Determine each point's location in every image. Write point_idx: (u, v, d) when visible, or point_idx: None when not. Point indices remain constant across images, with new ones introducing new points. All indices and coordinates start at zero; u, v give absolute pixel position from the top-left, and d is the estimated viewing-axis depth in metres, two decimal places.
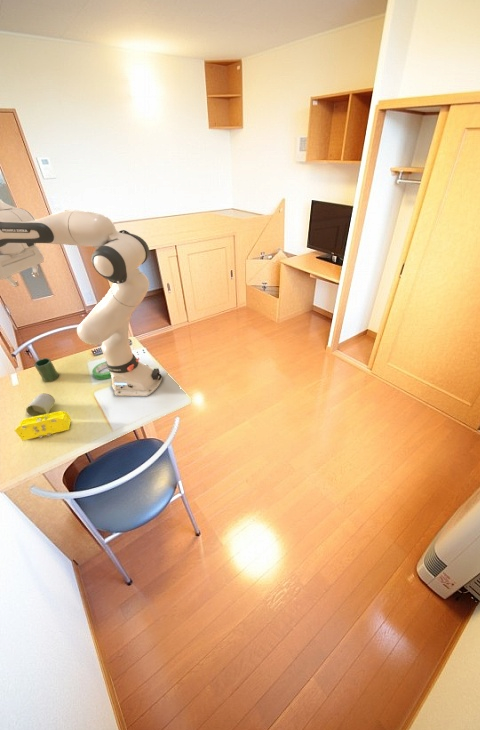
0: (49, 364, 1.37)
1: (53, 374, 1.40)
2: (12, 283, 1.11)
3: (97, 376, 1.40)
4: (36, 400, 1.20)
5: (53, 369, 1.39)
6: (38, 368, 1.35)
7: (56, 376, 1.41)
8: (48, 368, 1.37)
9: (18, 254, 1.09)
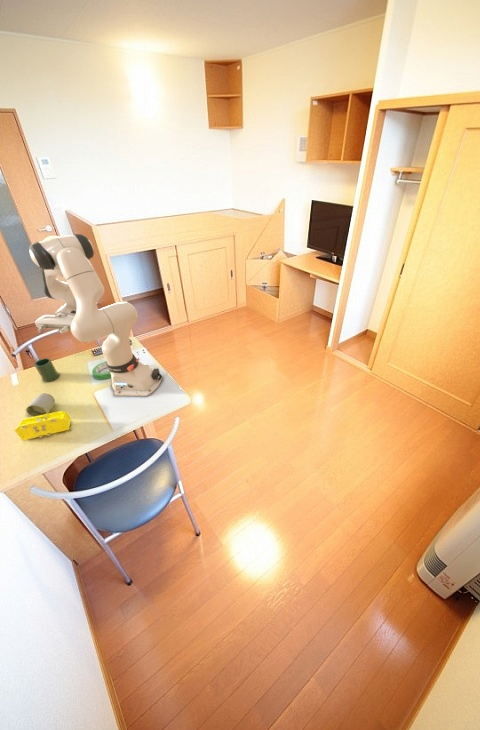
0: (49, 364, 1.37)
1: (53, 374, 1.40)
2: None
3: (97, 376, 1.40)
4: (36, 400, 1.20)
5: (53, 369, 1.39)
6: (38, 368, 1.35)
7: (56, 376, 1.41)
8: (48, 368, 1.37)
9: (59, 314, 1.47)
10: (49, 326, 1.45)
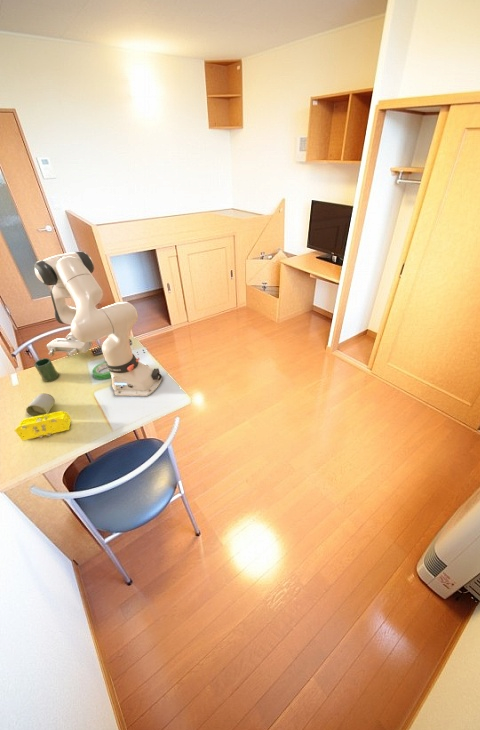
0: (49, 364, 1.37)
1: (53, 374, 1.40)
2: None
3: (97, 376, 1.40)
4: (36, 400, 1.20)
5: (53, 369, 1.39)
6: (38, 368, 1.35)
7: (56, 376, 1.41)
8: (48, 368, 1.37)
9: (69, 337, 1.54)
10: (59, 349, 1.51)
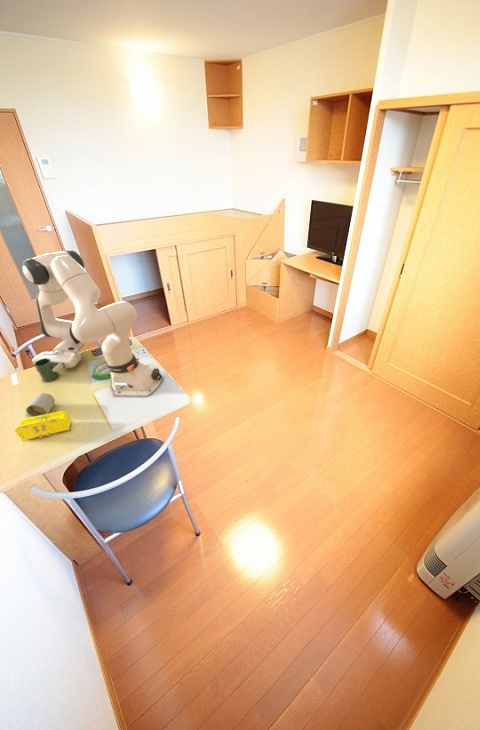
0: (49, 364, 1.37)
1: (53, 374, 1.40)
2: None
3: (97, 376, 1.40)
4: (36, 400, 1.20)
5: None
6: (38, 368, 1.35)
7: (56, 376, 1.41)
8: (48, 368, 1.37)
9: (56, 351, 1.45)
10: None
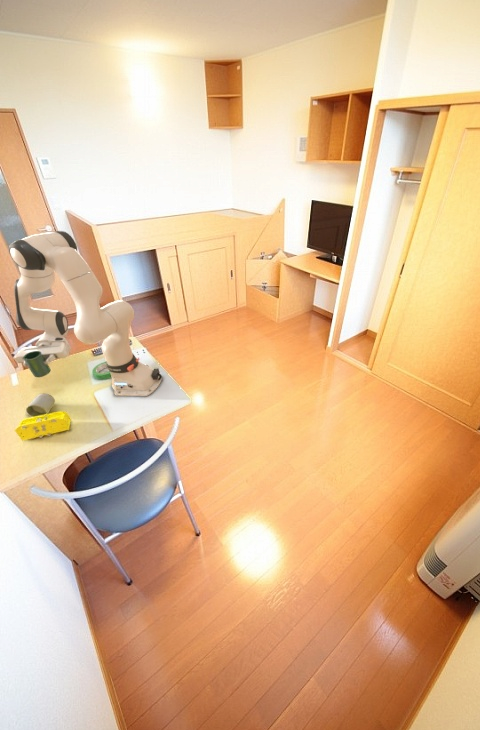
0: (41, 356, 1.23)
1: (46, 367, 1.26)
2: None
3: (97, 376, 1.40)
4: (36, 400, 1.20)
5: None
6: (29, 362, 1.20)
7: (49, 370, 1.27)
8: (41, 360, 1.23)
9: (42, 343, 1.30)
10: None
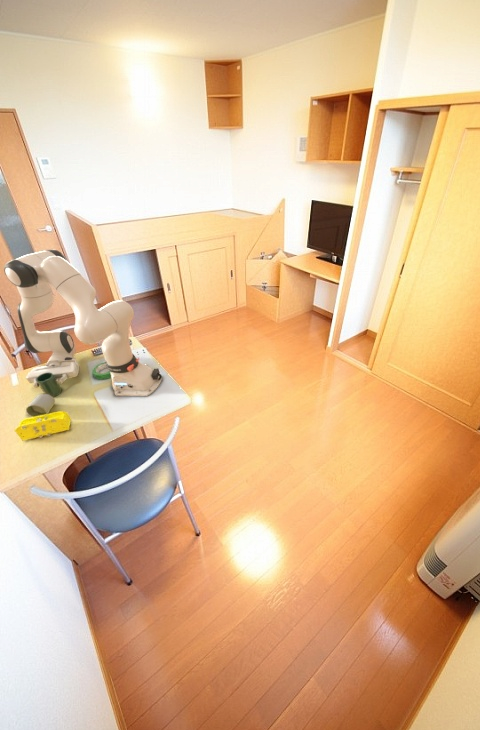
0: (53, 377, 1.29)
1: (57, 388, 1.32)
2: None
3: (97, 376, 1.40)
4: (36, 400, 1.20)
5: (56, 383, 1.32)
6: (42, 383, 1.26)
7: (60, 390, 1.34)
8: (53, 382, 1.29)
9: (52, 363, 1.36)
10: None
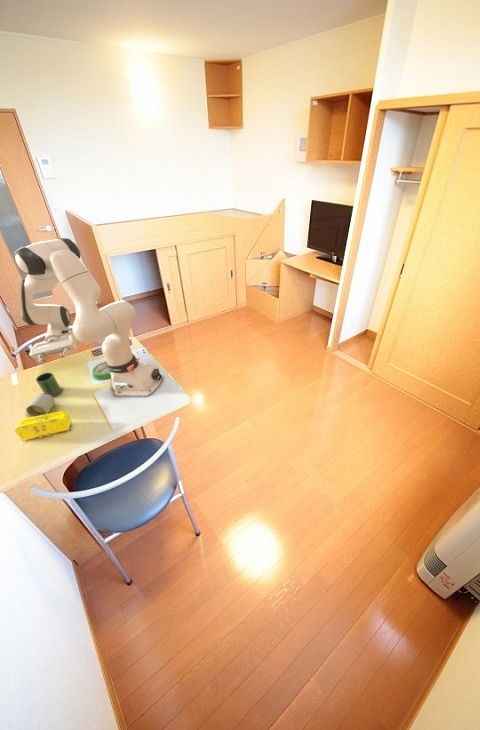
0: (53, 377, 1.29)
1: (57, 388, 1.32)
2: None
3: (97, 376, 1.40)
4: (36, 400, 1.20)
5: (56, 383, 1.32)
6: (42, 383, 1.26)
7: (60, 390, 1.34)
8: (53, 382, 1.29)
9: (50, 338, 1.41)
10: (46, 353, 1.40)
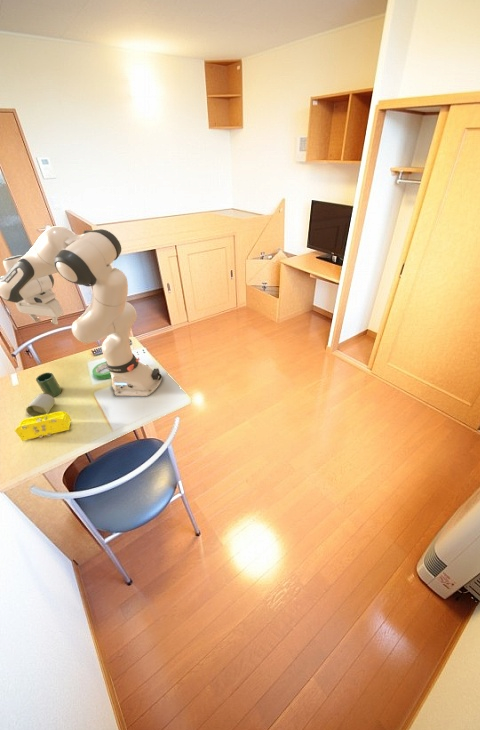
0: (53, 377, 1.29)
1: (57, 388, 1.32)
2: None
3: (97, 376, 1.40)
4: (36, 400, 1.20)
5: (56, 383, 1.32)
6: (42, 383, 1.26)
7: (60, 390, 1.34)
8: (53, 382, 1.29)
9: (28, 303, 1.22)
10: None
